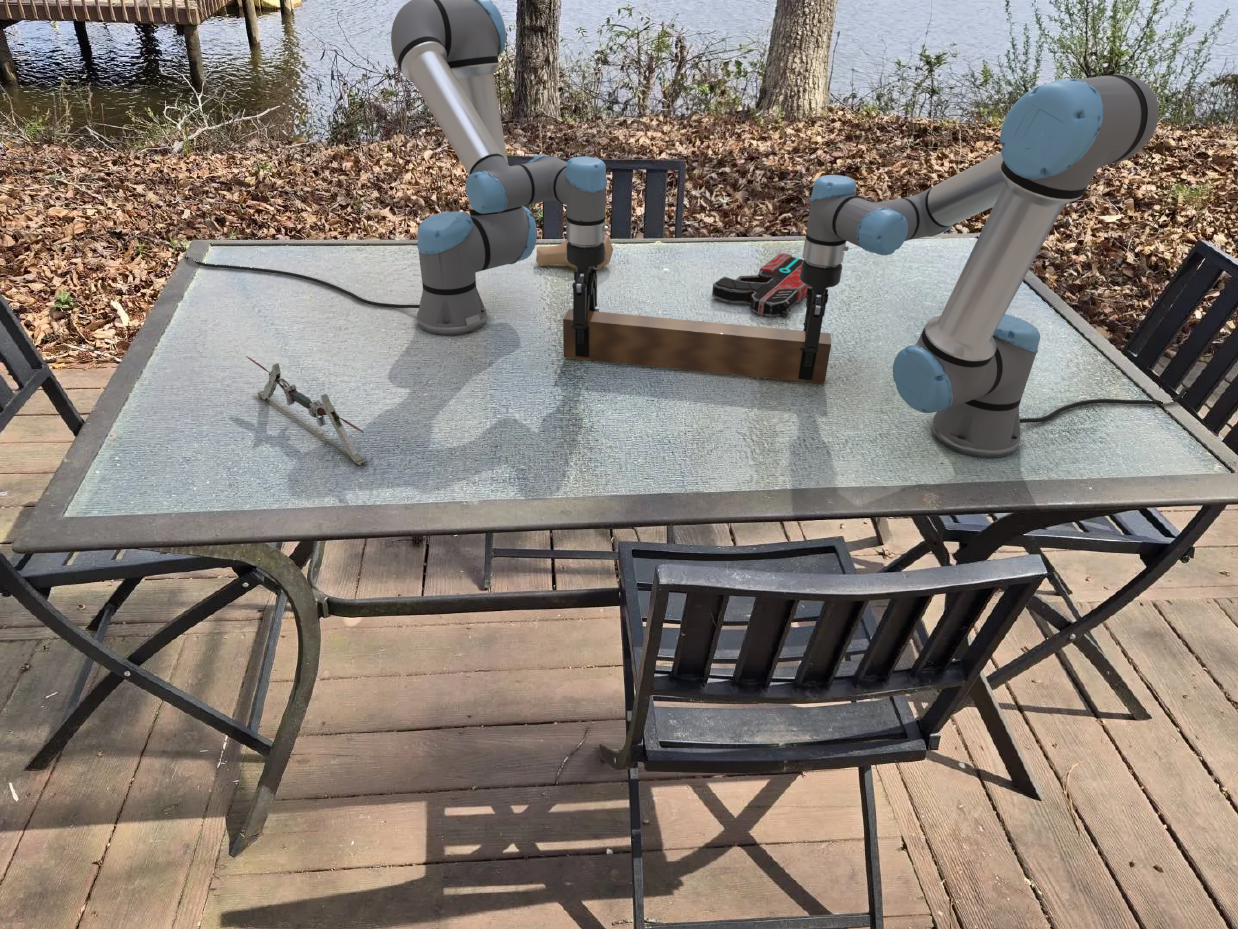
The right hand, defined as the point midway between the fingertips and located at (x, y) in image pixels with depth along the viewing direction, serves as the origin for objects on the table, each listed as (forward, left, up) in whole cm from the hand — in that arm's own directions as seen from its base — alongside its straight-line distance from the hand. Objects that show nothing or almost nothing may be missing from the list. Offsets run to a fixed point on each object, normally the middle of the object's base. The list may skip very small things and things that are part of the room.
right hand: (805, 371), depth 177 cm
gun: (-2, -46, -2) cm, 46 cm away
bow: (+94, +19, -2) cm, 96 cm away
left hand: (+45, -10, 0) cm, 46 cm away
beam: (+22, -5, -1) cm, 23 cm away
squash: (+47, -61, -2) cm, 77 cm away
